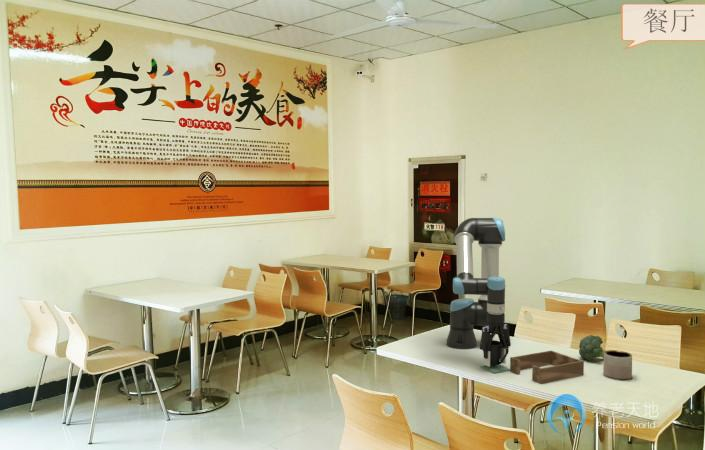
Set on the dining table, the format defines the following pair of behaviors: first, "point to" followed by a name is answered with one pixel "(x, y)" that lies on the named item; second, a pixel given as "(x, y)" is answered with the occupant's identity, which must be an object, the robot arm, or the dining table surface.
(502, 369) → the mat
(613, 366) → the planter
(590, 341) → the vegetable
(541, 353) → the wooden tray frame
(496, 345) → the mug
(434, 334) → the dining table surface
